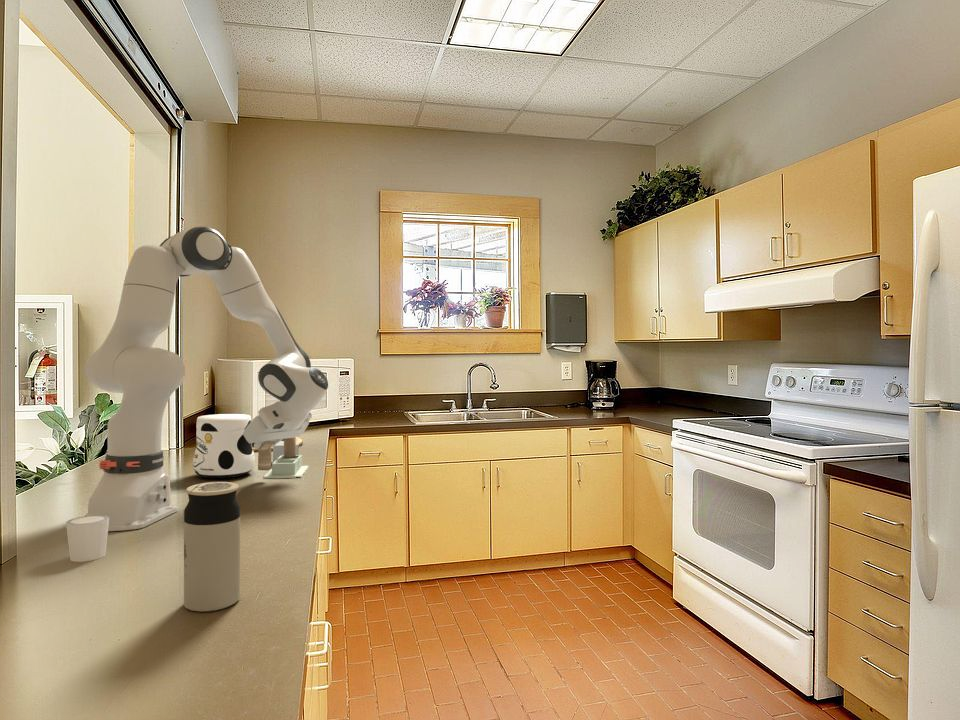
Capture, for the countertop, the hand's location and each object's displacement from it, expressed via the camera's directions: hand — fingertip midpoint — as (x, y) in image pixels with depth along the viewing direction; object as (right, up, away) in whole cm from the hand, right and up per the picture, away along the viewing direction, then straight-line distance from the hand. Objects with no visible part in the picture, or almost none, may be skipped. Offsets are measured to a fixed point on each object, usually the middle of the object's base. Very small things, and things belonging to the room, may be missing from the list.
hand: (263, 446), depth 182 cm
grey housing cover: (-2, -10, +27) cm, 29 cm away
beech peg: (0, -7, 0) cm, 7 cm away
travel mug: (+22, -12, -86) cm, 89 cm away
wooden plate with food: (-23, -9, +65) cm, 69 cm away
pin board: (+3, -10, +13) cm, 16 cm away
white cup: (-10, -12, -66) cm, 67 cm away
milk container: (-14, -10, +7) cm, 19 cm away
